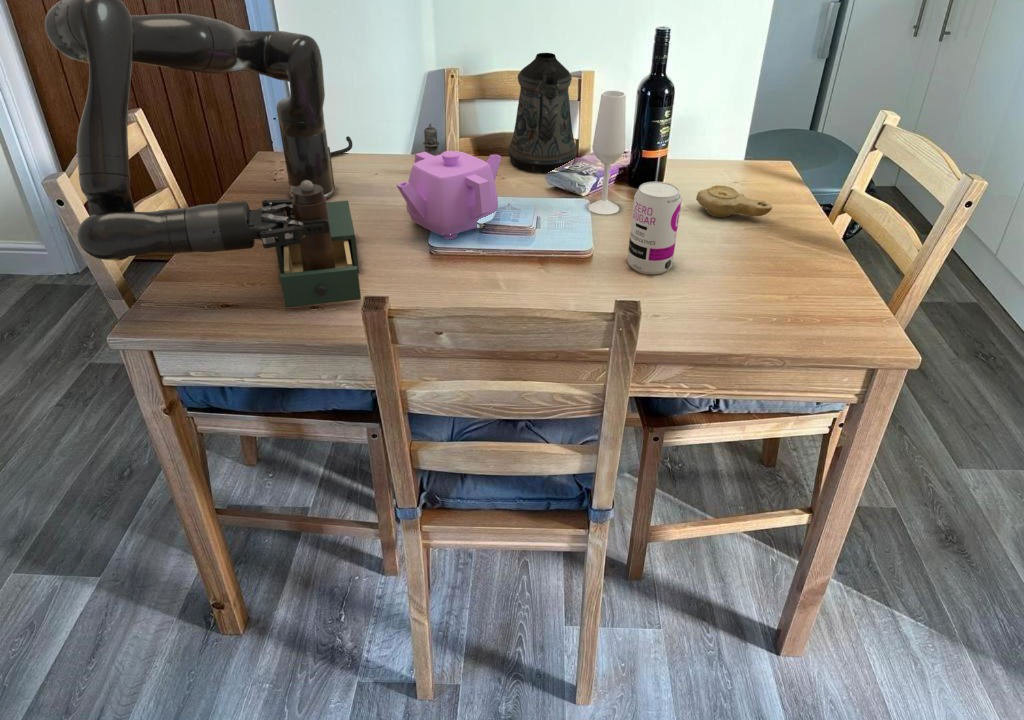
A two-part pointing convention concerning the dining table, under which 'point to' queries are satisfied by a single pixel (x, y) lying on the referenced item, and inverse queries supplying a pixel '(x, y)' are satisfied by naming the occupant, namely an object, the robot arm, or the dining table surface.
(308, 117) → the robot arm
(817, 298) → the dining table surface
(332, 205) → the cabinet
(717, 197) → the oil lamp
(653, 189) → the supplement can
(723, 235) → the dining table surface
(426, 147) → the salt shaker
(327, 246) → the pepper mill
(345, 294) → the drawer
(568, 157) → the dark engraved coffee pot
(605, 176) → the champagne flute
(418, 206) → the teapot
